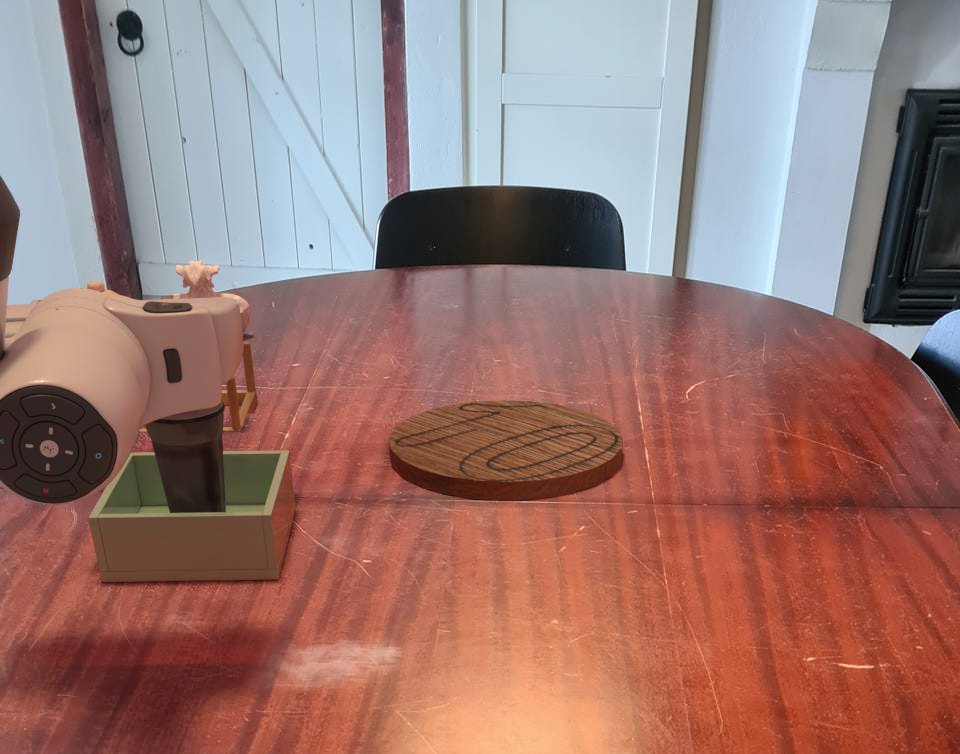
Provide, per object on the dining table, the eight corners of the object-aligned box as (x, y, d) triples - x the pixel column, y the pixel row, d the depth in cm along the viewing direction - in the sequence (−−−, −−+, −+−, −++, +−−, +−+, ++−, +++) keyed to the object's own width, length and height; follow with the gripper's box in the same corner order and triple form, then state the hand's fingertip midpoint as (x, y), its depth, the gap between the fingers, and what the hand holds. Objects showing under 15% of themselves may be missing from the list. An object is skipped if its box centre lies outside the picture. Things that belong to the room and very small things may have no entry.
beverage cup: (179, 557, 110) (141, 322, 98) (149, 530, 115) (109, 302, 103) (254, 539, 114) (225, 308, 101) (221, 513, 118) (190, 290, 106)
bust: (167, 356, 170) (144, 300, 159) (171, 309, 172) (149, 250, 161) (254, 356, 170) (237, 299, 159) (256, 308, 172) (240, 250, 161)
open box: (101, 582, 109) (87, 517, 105) (136, 512, 121) (125, 452, 117) (278, 579, 109) (271, 514, 105) (295, 510, 121) (289, 450, 118)
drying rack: (115, 445, 136) (103, 380, 132) (140, 403, 147) (129, 342, 143) (242, 443, 136) (234, 378, 132) (257, 402, 147) (250, 341, 143)
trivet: (341, 456, 133) (340, 439, 132) (502, 402, 147) (502, 386, 146) (509, 521, 119) (509, 502, 118) (669, 454, 133) (671, 436, 132)
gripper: (-63, 418, 83) (-22, 357, 94) (243, 405, 85) (249, 346, 96) (-90, 320, 79) (-44, 268, 90) (231, 308, 81) (239, 259, 92)
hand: (109, 308), depth 93 cm, fingers open, 8 cm apart
